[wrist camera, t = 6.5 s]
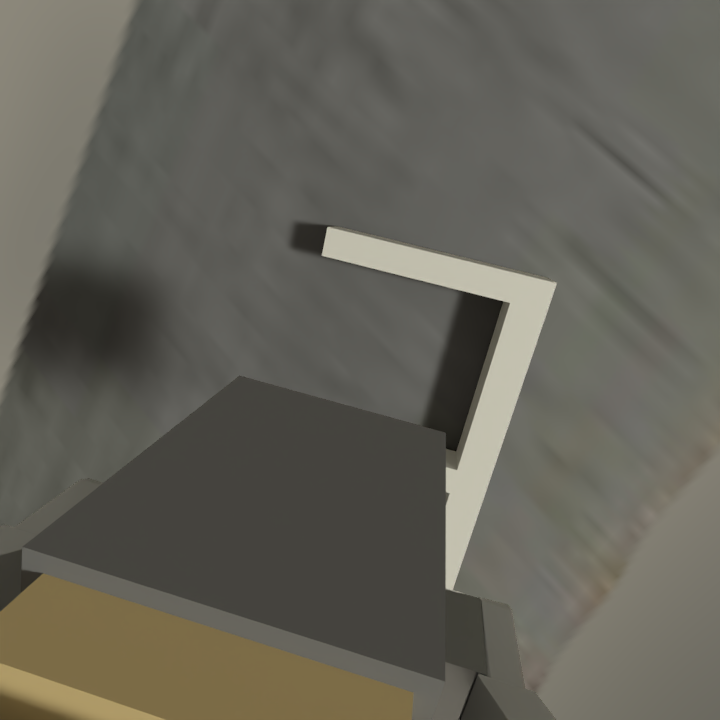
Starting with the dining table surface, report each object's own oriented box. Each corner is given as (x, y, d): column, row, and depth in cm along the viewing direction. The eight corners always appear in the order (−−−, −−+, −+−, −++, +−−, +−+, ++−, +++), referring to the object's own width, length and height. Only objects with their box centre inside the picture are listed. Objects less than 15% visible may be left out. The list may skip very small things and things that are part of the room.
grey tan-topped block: (239, 375, 11) (-69, 616, 4) (446, 432, 11) (444, 789, 4) (210, 549, 12) (-60, 932, 6) (393, 605, 12) (328, 1086, 5)
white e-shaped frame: (320, 222, 24) (309, 222, 22) (547, 277, 23) (556, 283, 21) (250, 569, 29) (237, 594, 27) (431, 625, 28) (430, 655, 26)
